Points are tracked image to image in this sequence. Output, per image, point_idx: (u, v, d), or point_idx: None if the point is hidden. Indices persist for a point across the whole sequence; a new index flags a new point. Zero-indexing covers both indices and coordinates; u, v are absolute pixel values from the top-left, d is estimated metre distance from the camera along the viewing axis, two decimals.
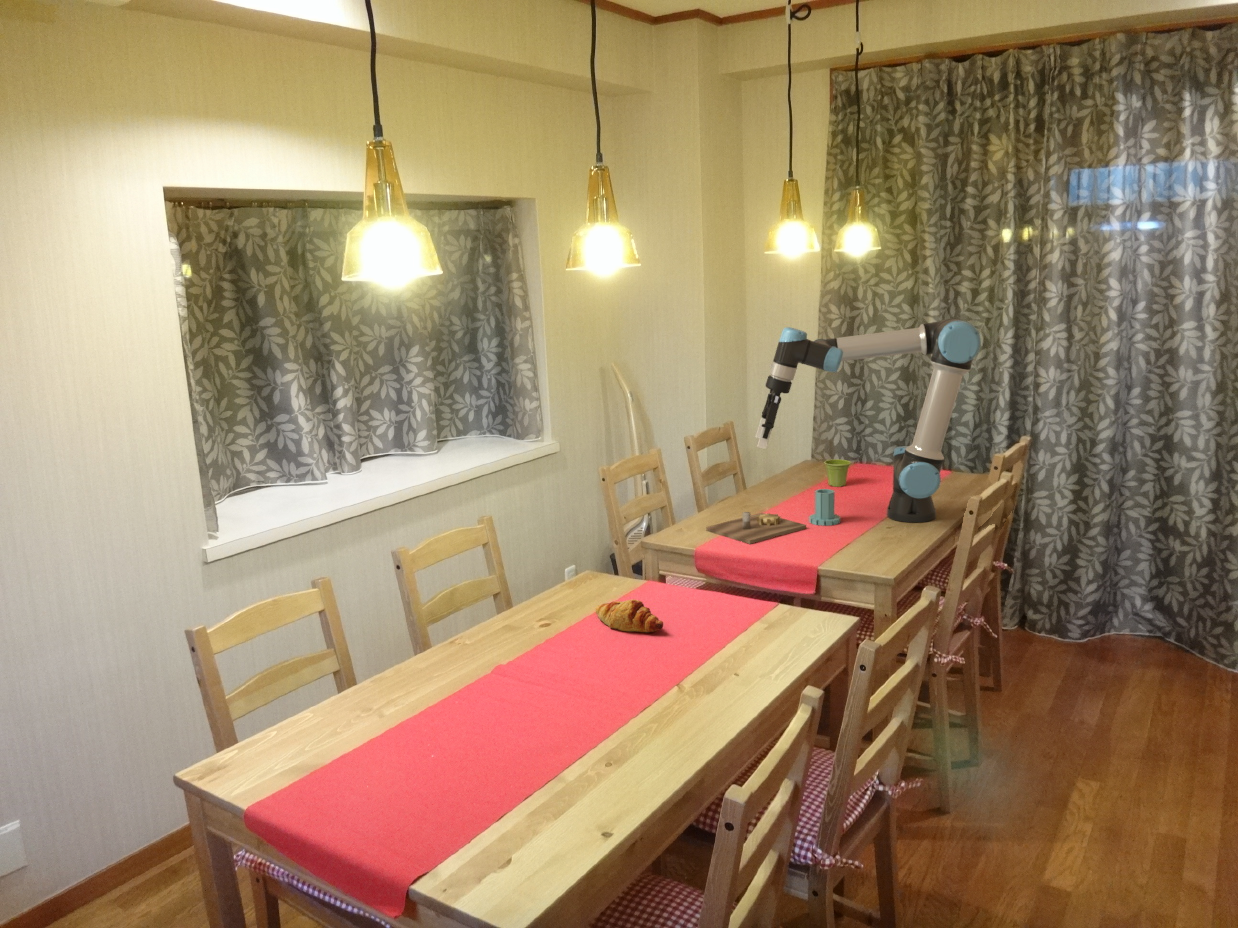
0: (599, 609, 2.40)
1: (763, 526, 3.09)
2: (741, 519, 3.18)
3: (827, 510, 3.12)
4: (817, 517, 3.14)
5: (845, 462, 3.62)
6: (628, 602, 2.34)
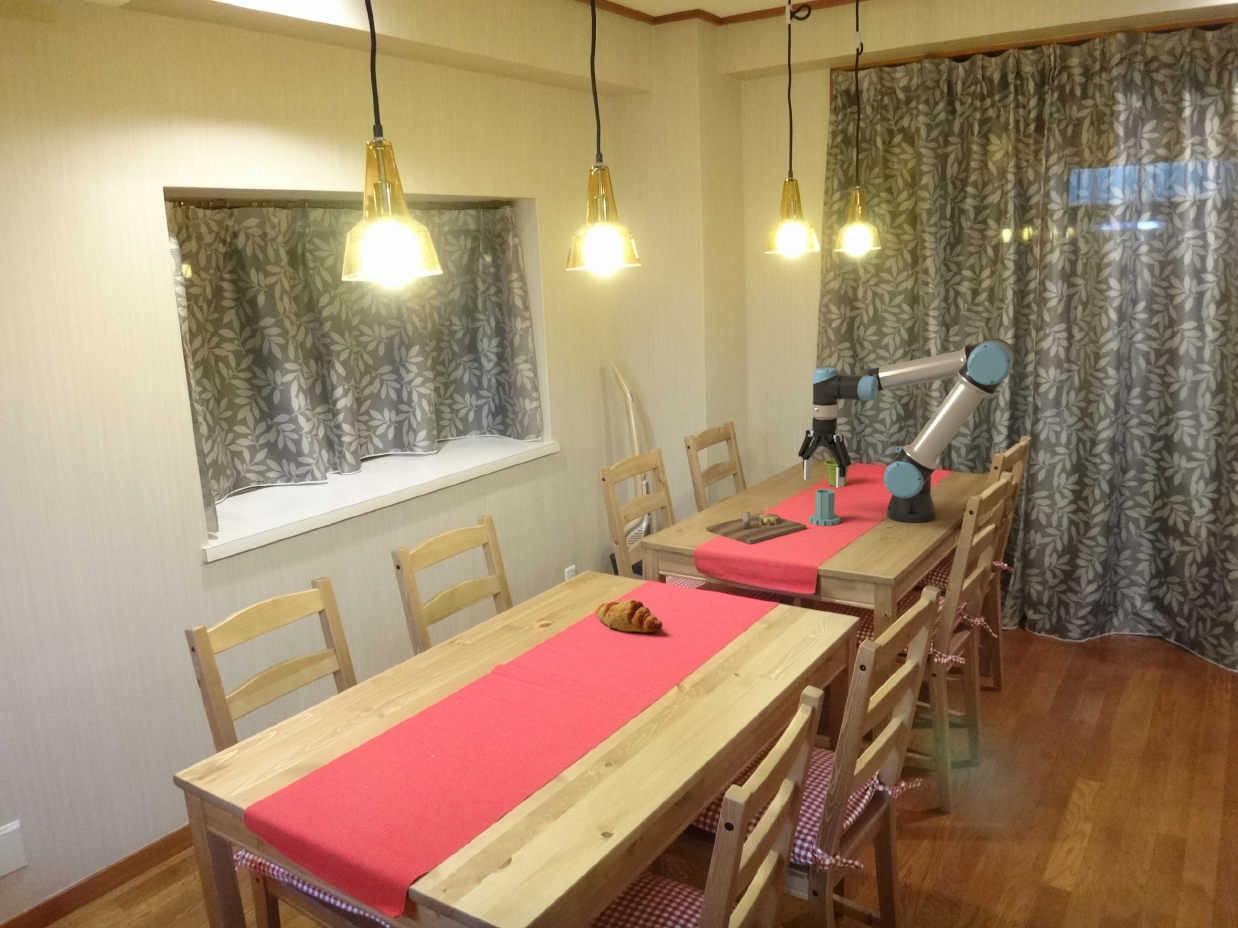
0: (599, 609, 2.40)
1: (763, 526, 3.09)
2: (741, 519, 3.18)
3: (827, 510, 3.12)
4: (817, 517, 3.14)
5: None
6: (627, 602, 2.34)
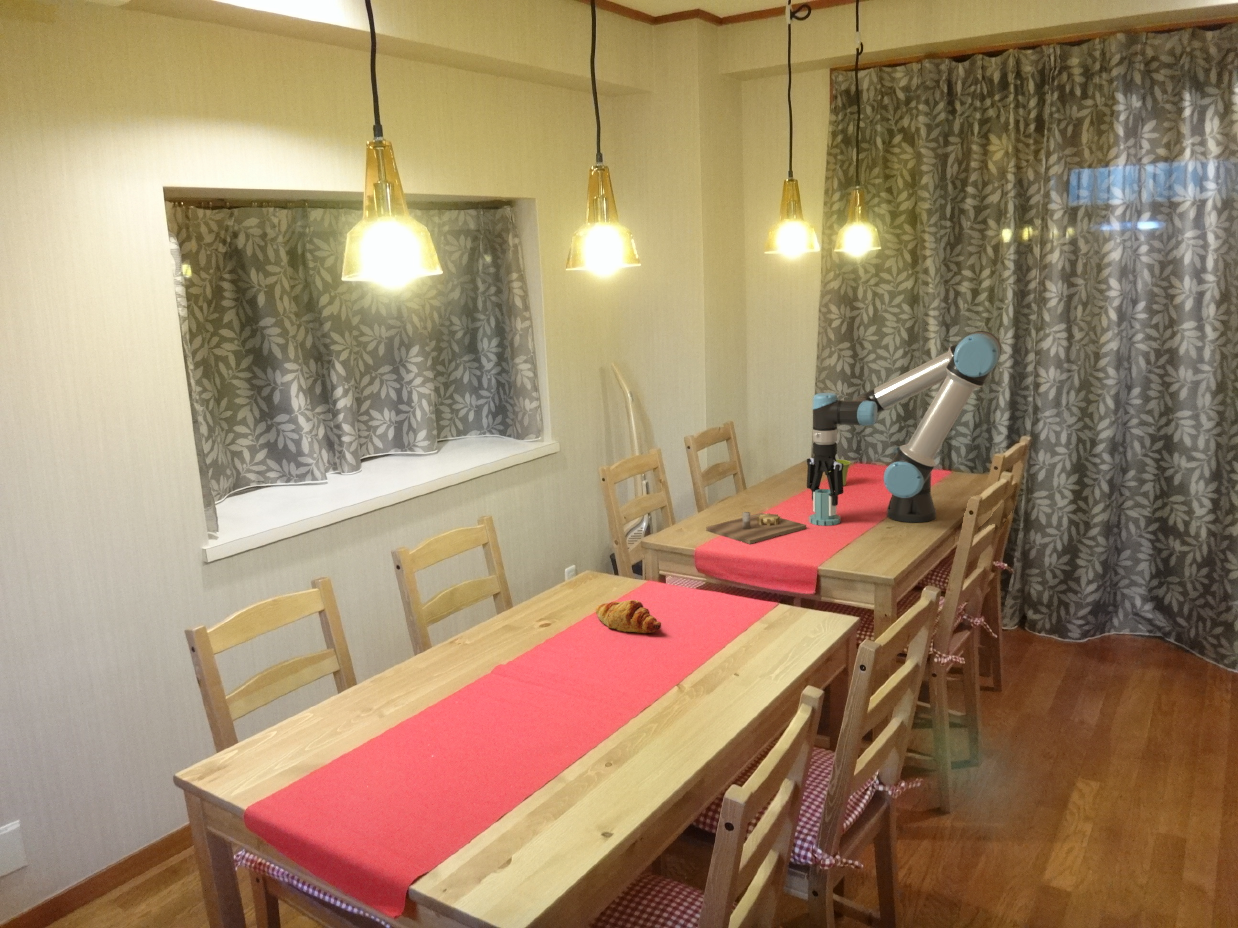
0: (598, 609, 2.40)
1: (763, 526, 3.09)
2: (741, 519, 3.18)
3: (827, 510, 3.12)
4: (817, 517, 3.14)
5: (845, 462, 3.62)
6: (627, 602, 2.34)
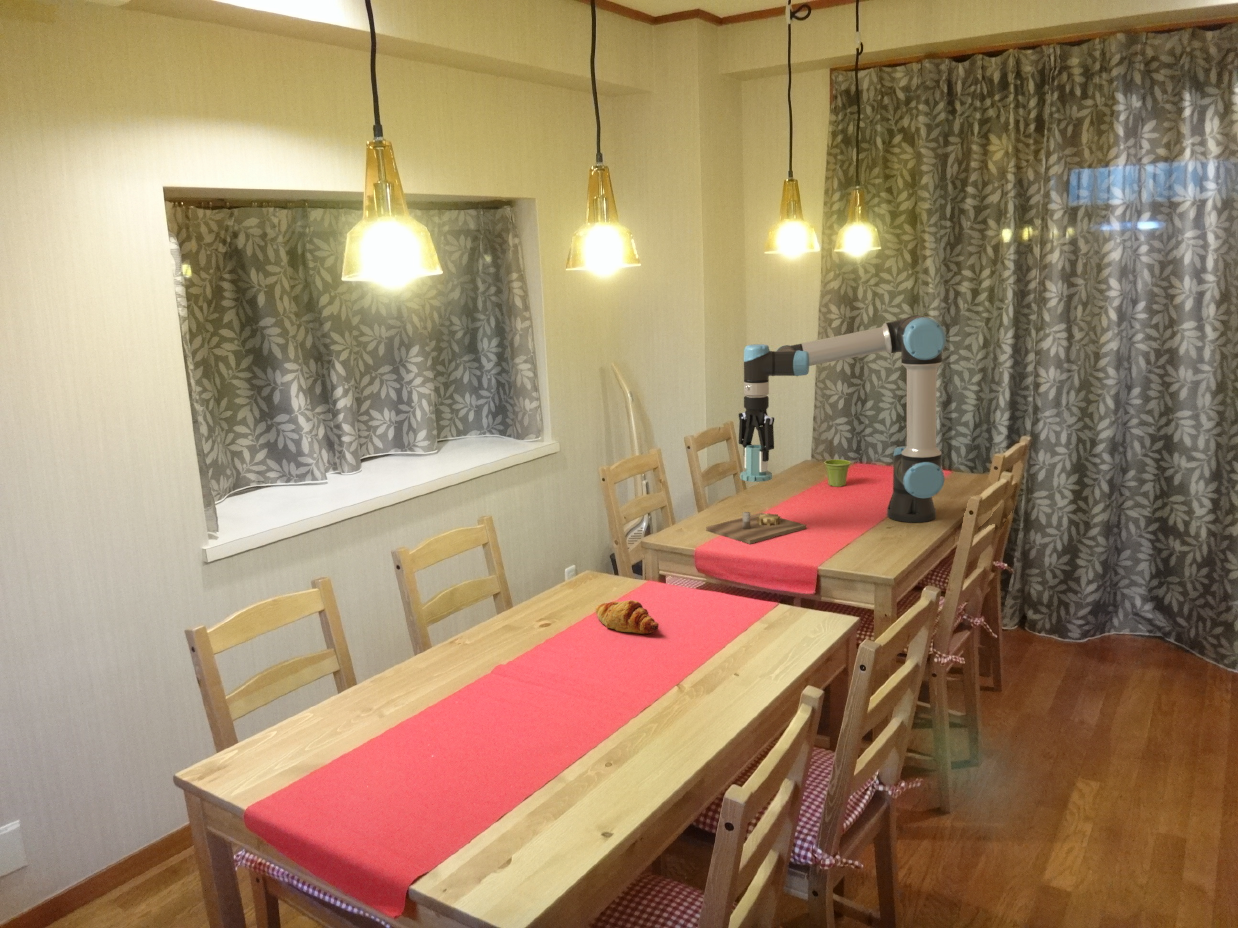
0: (598, 609, 2.40)
1: (763, 526, 3.09)
2: (741, 519, 3.18)
3: (758, 466, 3.02)
4: (748, 473, 3.04)
5: (845, 462, 3.62)
6: (625, 603, 2.34)
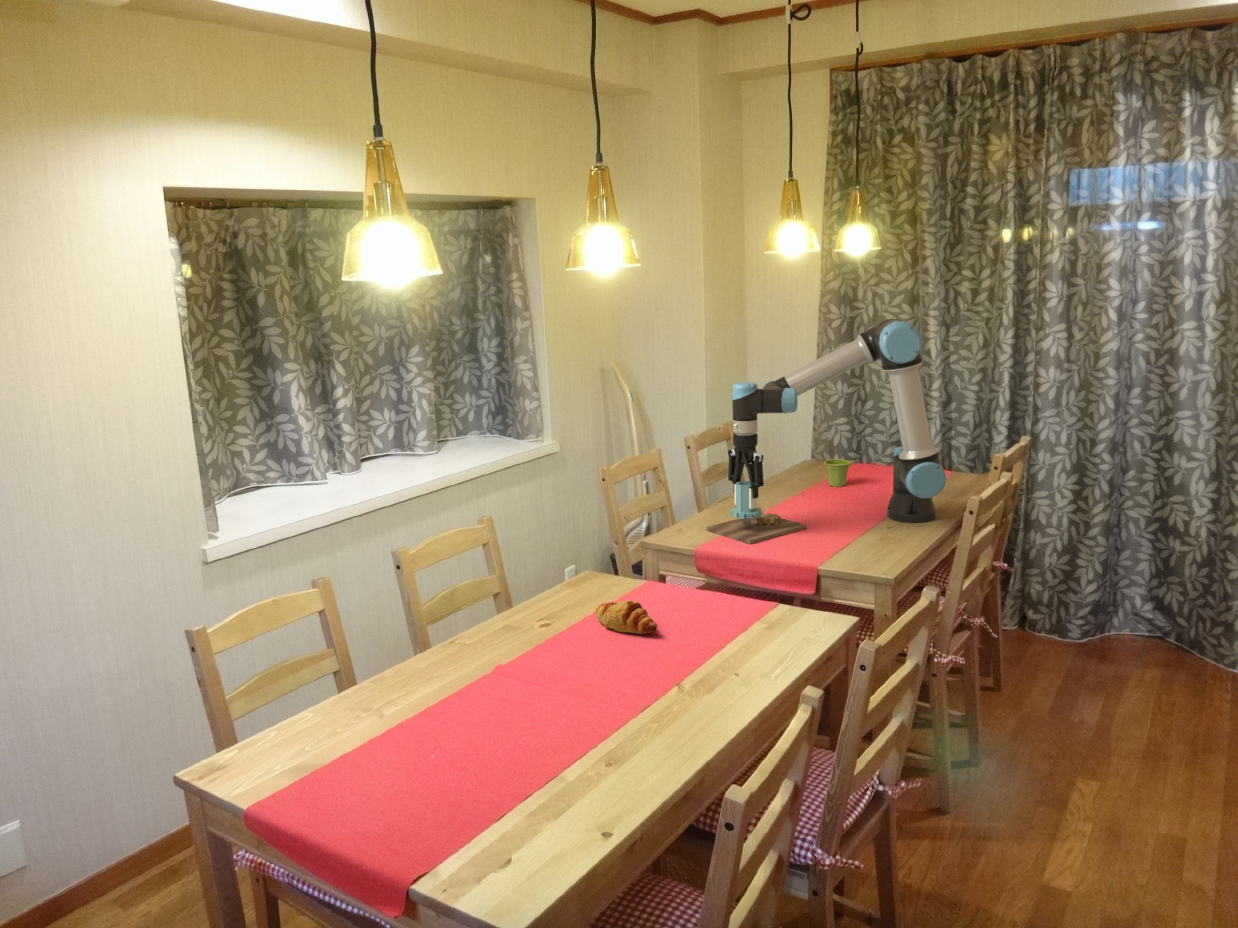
0: (598, 609, 2.40)
1: (763, 526, 3.09)
2: (741, 519, 3.18)
3: (748, 503, 3.03)
4: (738, 510, 3.05)
5: (845, 462, 3.62)
6: (624, 603, 2.34)
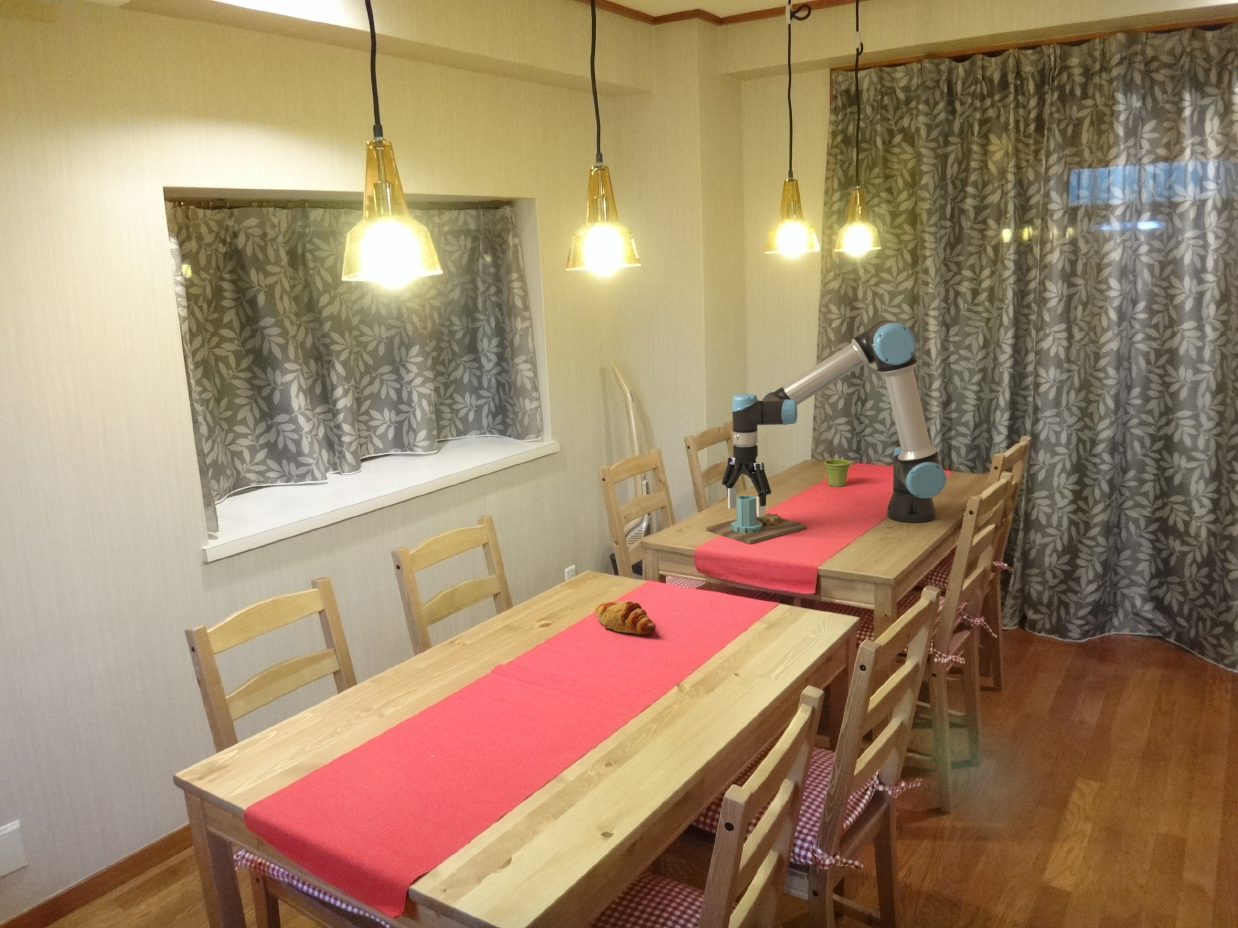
0: (597, 608, 2.40)
1: (763, 526, 3.09)
2: None
3: (748, 517, 3.04)
4: (738, 524, 3.06)
5: (845, 462, 3.62)
6: (623, 603, 2.33)
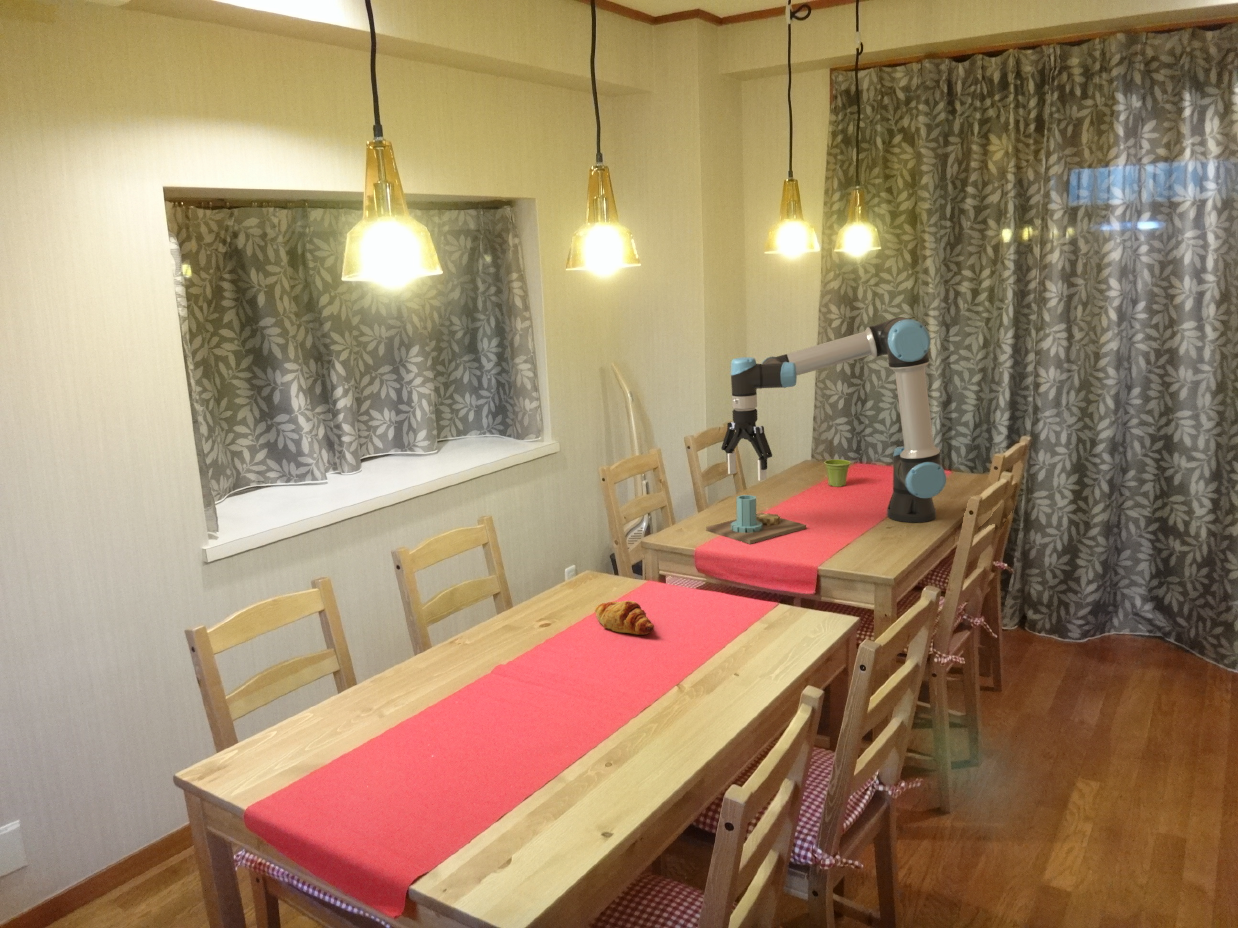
0: (597, 608, 2.40)
1: (763, 526, 3.09)
2: None
3: (748, 517, 3.04)
4: (738, 524, 3.06)
5: (845, 462, 3.62)
6: (622, 603, 2.33)
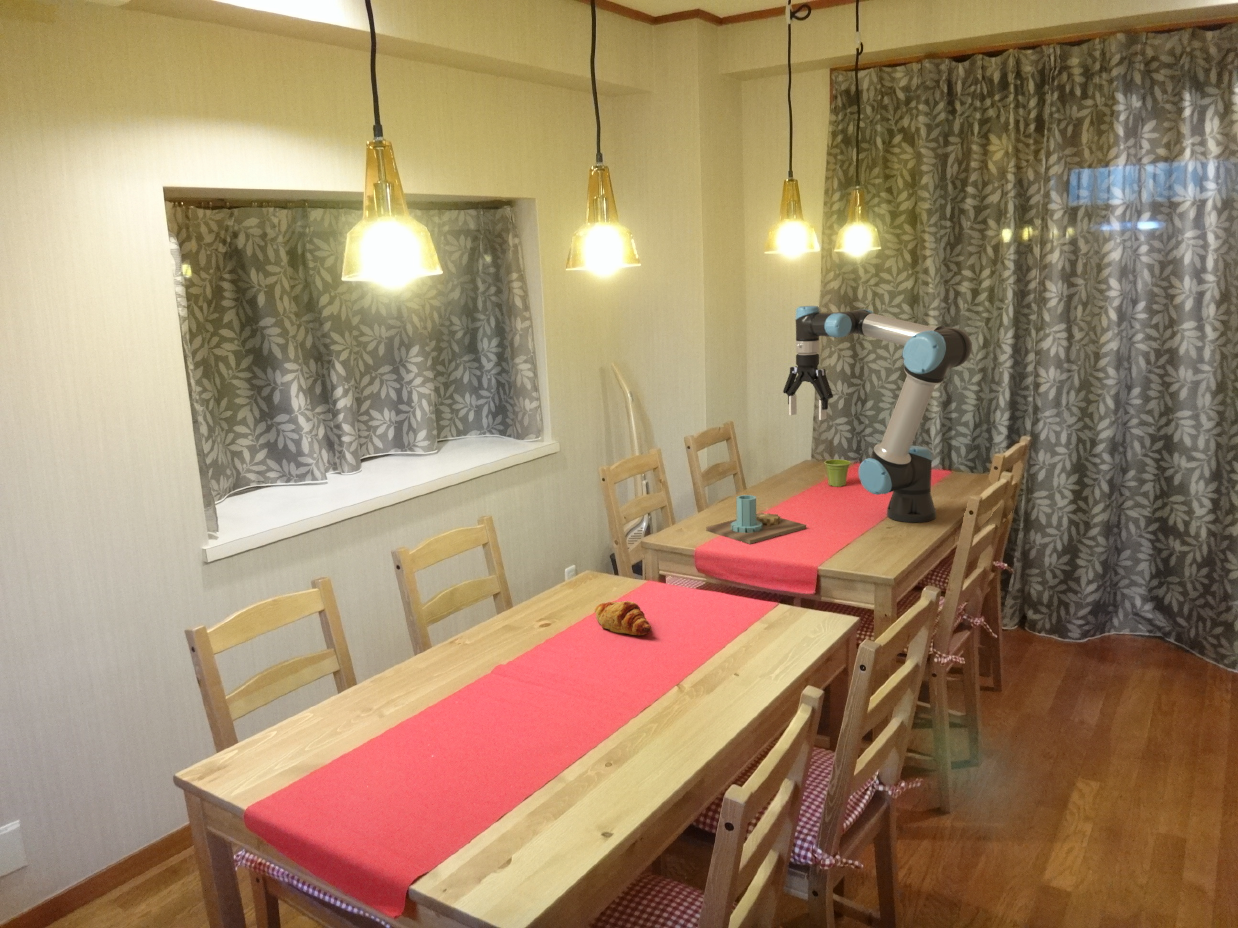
0: (597, 608, 2.41)
1: (763, 526, 3.09)
2: None
3: (748, 517, 3.04)
4: (738, 524, 3.06)
5: (845, 462, 3.62)
6: (620, 603, 2.33)
